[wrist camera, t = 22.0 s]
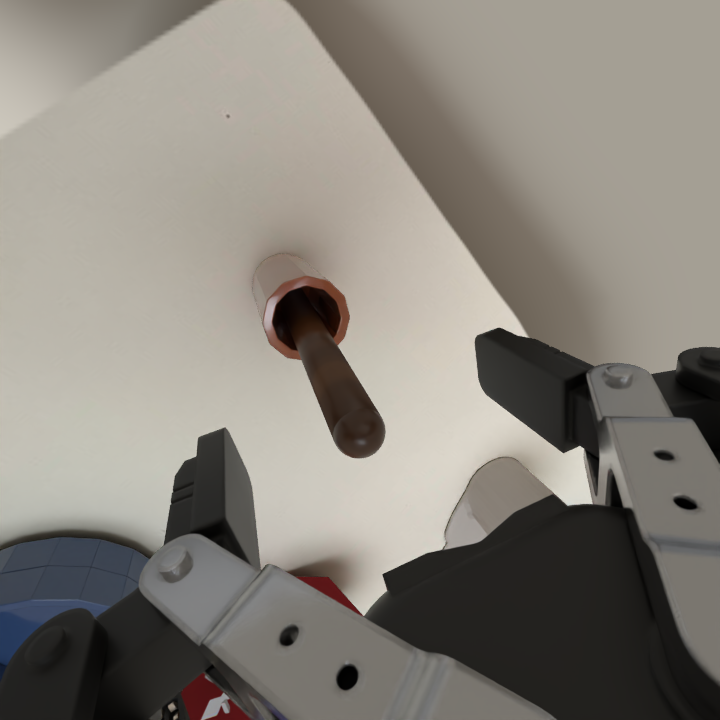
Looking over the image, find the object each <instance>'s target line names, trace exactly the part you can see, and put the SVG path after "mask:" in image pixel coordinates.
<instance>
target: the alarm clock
mask: <svg viewBox="0 0 720 720" xmlns="http://www.w3.org/2000/svg"><path fill="white" fill-rule="evenodd" d="M296 578H298V579H299V580H301V581H303V582H304V583H306V584H308V585H310V586H311V587H313V588H315V589H316V590H318V591H320V592H321V593H323V594H325V595H327V596H328V597H330V598H332V599H333V600H335V601H337V602H339V603H340V604H342V605H344V606H345V607H347V608H349V609H351V610H352V611H354V612H356V613H357V614H359V615H361V616H363V615H362V614H361V613H360V612H359V611H358V610H357V608H356V607H355V606H354V605H353V604H352V603H351V602H350V601H349V600H348V598H347V597H346V596H345V595H344V594H343V593H342V592H341V591H340V589H339V588H338V587H337V586H336V585H335V584H334V583H333V582H332V580H331V579H330V578H329V577H296ZM363 617H364V616H363ZM181 695H182V698H183V701H184V704H185V706H186V709H187V712H188V715H189V717H190V720H251V719H250V718H249V717H248V716H247V715H246V714H245V713H244V712H243V711H242V710H241V709H240V708H239V707H238V706H237V705H236V704H235V703H234V702H232V701H231V700H230V699H229V698H228V697H227V696H226V695H225V694H224V693H223V692H222V691H221V690H220V689H219V688H218V687H217V686H216V685H215V684H214V683H213V682H212V681H211V680H210V679H209V678H208V677H207V676H206V675H205V674H204V673H202V674H201V675H199V676H198V677H197V678H196V679H195V680H193V681H192V682H191V683H190V684H189V685H188V686H186V687H185V688H184V689H183V691H182V693H181Z"/></svg>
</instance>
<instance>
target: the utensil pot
mask: <svg viewBox="0 0 720 720" xmlns="http://www.w3.org/2000/svg"><path fill="white" fill-rule="evenodd" d="M298 288H302V289H303V291H304V293H305V294H306V296H307V297H308V299H309V301H310V302H311V304H312V305H313V307H314V309H315V310H316V312H317V314H318V315H319V317H320V318H321V320H322V322H323V323H324V325H325V327H326V328H327V330H328V331H329V333H330V335H331V336H332V338H333V339H334V341H335V343H336V344H337V345H338V344H339V343H340V342H341V341H342V340H343V339H344V337H345V334H346V330H347V326H348V323H349V319H350V315H349V311H348V307H347V304H346V300H345V297H344V295H343V294H342V293H341V292H340V291H339V290H338V289H337V288H336V287H335V286H334V285H333V284H332V283H331V282H330V281H328V280H327V279H326V278H325V277H323V276H322V275H321V274H320V273H319V272H317V271H316V270H315V269H314V268H312V267H311V266H310V265H309V264H308V263H306V262H305V261H304V260H303V259H301V258H299V257H296V256H294V255H290V254H277V255H273V256H270V257H268V258H267V259H265V260H264V261H263V262H262V263H261V264H260V265H259V266H258V267H257V269H256V271H255V273H254V276H253V282H252V291H253V294H254V297H255V301H256V304H257V308H258V311H259V314H260V318H261V321H262V325H263V327H264V330H265V333H266V336H267V338H268V341H269V343H270V345H271V346H273V347H274V348H275V349H276V350H278V351H279V352H280V353H281V354H283V355H284V356H285V357H287V358H292V359H298V360H301V357H300V355H299V352H298V350H297V347H296V345H295V342H294V340H293V337H292V335H291V332H290V330H289V327H288V325H287V322H286V320H285V317H284V315H283V312H282V310H281V307H280V305H279V301H280V300H281V299H282V298H283V297H284V296H285V295H286V294H287V293H288V292H289V291H291V290H295V289H298Z"/></svg>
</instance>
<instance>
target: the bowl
mask: <svg viewBox="0 0 720 720" xmlns="http://www.w3.org/2000/svg"><path fill="white" fill-rule="evenodd" d="M148 561H149V558H147V557H146V556H144V555H143V554H141V553H139V552H138V551H136V550H135V549H133V548H129V547H126V546H122V545H119V544H116V543H112V542H109V541H106V540H102V539H101V540H100V539H91V538H73V537H57V538H51V539H44V540H38V541H31V542H24V543H19V544H16V545H14V546H11V547H8V548H6V549H3V550H0V681H1V679H2V676H3V674H4V671H5V669H6V667H7V665H8V663H9V661H10V660H11V658H12V656H13V655H14V654H15V652H16V651H17V649H18V648H19V647H20V646H21V645H22V643H23V642H24V641H25V640H26V639H27V638H28V637H29V636H30V635H31V634H32V633H33V632H34V631H35V630H36V629H38V628H39V627H40V626H41V625H43V624H44V623H45V622H47V621H48V620H50V619H51V618H53V617H54V616H56V615H58V614H60V613H62V612H65V611H67V610H70V609H74V608H84V609H87V610H89V611H90V612H91V613H92V615H93V616H94V617H95V618H96V617H97V616H99V615H100V614H101V613H103V612H104V611H106V610H107V609H109V608H110V607H112V606H113V605H114V604H116V603H117V602H119V601H120V600H122V599H123V598H125V597H126V596H128V595H129V594H130V593H132V592H133V591H134V590H135V589H137V588H138V587H139V579H140V575H141V572H142V570H143V568H144V566H145V565H146V563H147V562H148Z"/></svg>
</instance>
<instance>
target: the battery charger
mask: <svg viewBox="0 0 720 720" xmlns="http://www.w3.org/2000/svg"><path fill="white" fill-rule="evenodd" d="M161 720H190V717H189V715H188V712H187V709H186V706H185V704H184V701H183V698H182V695H181V692H179V693H178V694H177V695H176V696H175V697H174V698H172V699H171V700H170V701H169V702H168V703H167V704H165V705H164V706H163V707H162V714H161Z"/></svg>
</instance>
